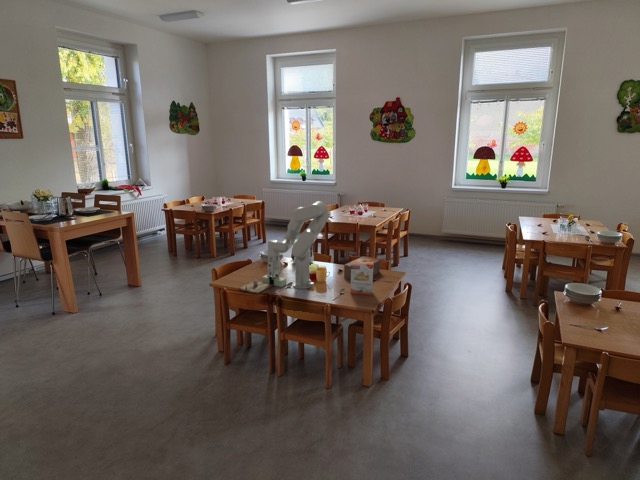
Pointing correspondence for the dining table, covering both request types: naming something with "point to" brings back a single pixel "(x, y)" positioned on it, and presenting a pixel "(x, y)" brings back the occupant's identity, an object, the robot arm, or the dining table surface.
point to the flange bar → (275, 280)
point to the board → (255, 287)
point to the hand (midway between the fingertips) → (274, 282)
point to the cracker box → (361, 277)
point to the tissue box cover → (363, 259)
